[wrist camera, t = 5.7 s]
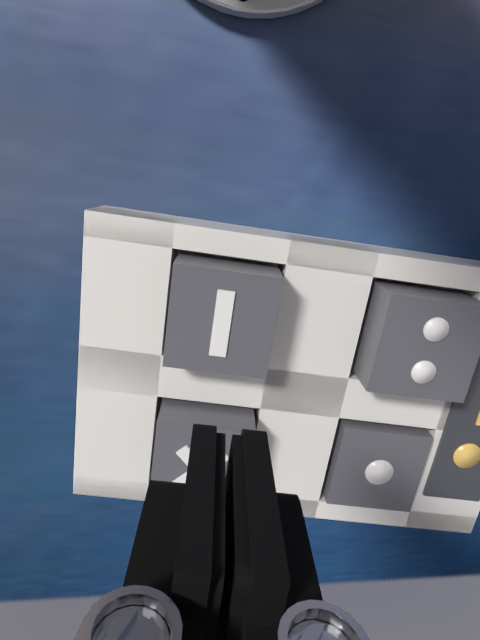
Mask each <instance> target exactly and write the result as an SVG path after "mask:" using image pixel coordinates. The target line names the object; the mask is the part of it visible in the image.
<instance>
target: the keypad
mask: <svg viewBox="0 0 480 640" xmlns="http://www.w3.org/2000/svg"><path fill="white" fill-rule="evenodd" d="M179 252H184V253H191V254H198V255H205V256H212V257H219V258H226V259H233V260H240V261H247V262H254V263H261V264H268V265H275V266H278V268H279V270H280V272H281V273H282V275H283V277H284V284H283V289H282V295H281V300H280V306H279V311H278V317H277V322H276V328H275V333H274V339H273V344H272V350H271V355H270V361H269V366H268V372H267V377H266V379H261V378H253V377H244V376H236V375H228V374H220V373H212V372H204V371H195V370H187V369H179V368H171V367H163V366H162V365H163V356H164V346H165V336H166V327H167V317H168V307H169V298H170V288H171V278H172V269H173V262H174V261H175V259H176V257H177V256H178V254H179ZM373 279H374V280H381V281H388V282H395V283H403V284H410V285H417V286H424V287H431V288H438V289H445V290H452V291H459V292H464V293H466V294H468V295H470V296H472V297H474V298H476V299H478V300H480V261H479V260H472V259H466V258H459V257H452V256H445V255H438V254H432V253H425V252H418V251H411V250H405V249H398V248H391V247H384V246H377V245H371V244H364V243H357V242H350V241H344V240H337V239H330V238H323V237H316V236H310V235H303V234H296V233H289V232H282V231H276V230H269V229H262V228H255V227H249V226H242V225H235V224H228V223H221V222H215V221H208V220H201V219H194V218H188V217H181V216H174V215H167V214H160V213H154V212H147V211H140V210H133V209H126V208H120V207H113V206H106V205H103V206H99V207H95V208H91V209H86V210H85V212H84V236H83V260H82V285H81V309H80V333H79V358H78V382H77V406H76V431H75V455H74V479H73V494H82V495H92V496H102V497H112V498H122V499H132V500H142V501H145V497H146V493H147V489H148V485H149V482H150V480H151V472H152V462H153V452H154V443H155V433H156V423H157V419H158V415H159V412H160V408H161V405H162V401H163V397H165V398H173V399H182V400H190V401H199V402H208V403H216V404H225V405H233V406H242V407H250V408H253V409H254V417H255V426H256V430H257V431H266V432H267V437H268V443H269V450H270V456H271V462H272V468H273V475H274V481H275V487H276V492H277V493H287V494H297V496H298V497H299V500H300V503H301V507H302V512H303V516H304V517H311V518H321V519H331V520H341V521H351V522H361V523H371V524H381V525H391V526H401V527H411V528H421V529H431V530H441V531H451V532H461V533H471V532H472V529H473V527H474V524H475V521H476V519H477V516H478V513H479V511H480V356H479V359H478V362H477V365H476V368H475V371H474V374H473V377H472V380H471V383H470V386H469V389H468V392H467V395H466V397H465V400H464V403H457V402H448V401H440V400H432V399H424V398H416V397H408V396H399V395H391V394H383V393H375V392H367V391H366V390H365V388H364V387H363V385H362V384H361V382H360V381H359V379H358V378H357V376H356V375H355V373H354V371H353V370H352V368H351V367H352V363H353V358H354V354H355V350H356V346H357V342H358V338H359V334H360V330H361V325H362V321H363V317H364V313H365V309H366V305H367V301H368V297H369V293H370V288H371V284H372V280H373ZM339 418H344V419H352V420H361V421H369V422H378V423H386V424H395V425H403V426H412V427H420V428H426V429H427V431H428V432H429V433H430V434H431V436H432V437H433V438H434V439H433V442H432V445H431V448H430V451H429V454H428V457H427V460H426V464H425V467H424V470H423V473H422V476H421V479H420V482H419V485H418V488H417V492H416V495H415V498H414V501H413V504H412V507H411V510H410V512H404V511H394V510H384V509H375V508H365V507H355V506H345V505H336V504H327V503H326V500H325V497H324V494H323V490H322V486H323V482H324V478H325V474H326V469H327V465H328V461H329V457H330V453H331V449H332V445H333V441H334V437H335V432H336V428H337V424H338V420H339Z"/></svg>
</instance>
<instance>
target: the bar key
mask: <svg viewBox="0 0 480 640" xmlns="http://www.w3.org/2000/svg"><path fill="white" fill-rule="evenodd" d="M283 284H284V277H283V275H282V273H281V272H280V270H279V268H278V266H275V265H268V264H261V263H254V262H247V261H240V260H233V259H226V258H219V257H212V256H205V255H198V254H191V253H184V252H179V254H178V256H177V257H176V259H175V261H174V262H173V269H172V278H171V288H170V298H169V307H168V317H167V327H166V336H165V346H164V356H163V365H162V366H163V367H171V368H179V369H187V370H195V371H204V372H212V373H220V374H228V375H236V376H244V377H253V378H261V379H266V377H267V372H268V366H269V361H270V355H271V350H272V344H273V339H274V333H275V328H276V322H277V317H278V311H279V306H280V300H281V295H282V289H283Z"/></svg>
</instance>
